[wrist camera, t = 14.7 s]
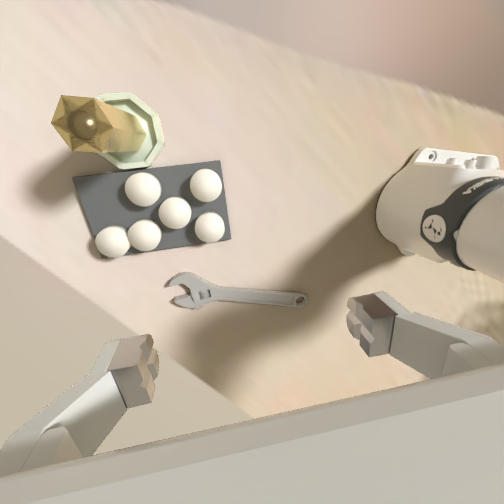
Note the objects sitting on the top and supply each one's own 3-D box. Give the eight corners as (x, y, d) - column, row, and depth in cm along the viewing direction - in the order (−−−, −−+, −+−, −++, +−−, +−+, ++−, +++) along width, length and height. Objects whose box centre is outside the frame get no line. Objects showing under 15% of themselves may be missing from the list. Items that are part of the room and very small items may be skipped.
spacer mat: (219, 160, 37) (220, 161, 34) (230, 237, 42) (232, 243, 39) (75, 177, 35) (64, 179, 32) (103, 256, 39) (96, 263, 37)
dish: (154, 92, 32) (151, 90, 31) (169, 163, 36) (167, 164, 35) (82, 98, 32) (77, 96, 30) (105, 170, 35) (101, 171, 34)
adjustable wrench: (306, 291, 49) (310, 296, 47) (295, 318, 51) (298, 324, 49) (174, 268, 42) (172, 273, 41) (167, 300, 45) (166, 306, 43)
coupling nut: (129, 106, 32) (82, 82, 20) (152, 143, 34) (122, 141, 22) (101, 122, 32) (38, 107, 20) (125, 158, 34) (81, 164, 22)
